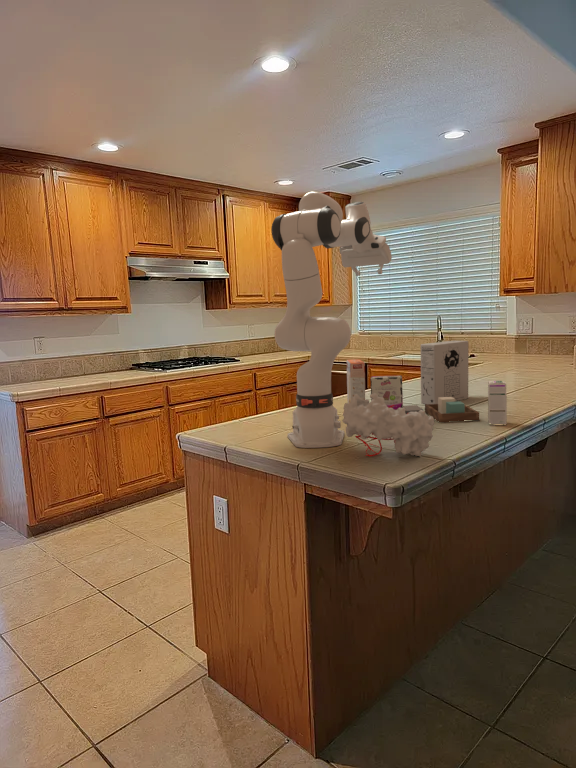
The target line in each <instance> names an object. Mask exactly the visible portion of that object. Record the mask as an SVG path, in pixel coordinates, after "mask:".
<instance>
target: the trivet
mask: <svg viewBox="0 0 576 768" xmlns="http://www.w3.org/2000/svg"><path fill="white" fill-rule="evenodd" d="M403 408H405V413H406V414H407V413H409V412H415V411H416V412H419V411H420V410H423V411H425V409H423V408H422V407H420V406H419V405H417V404H416V405H415V404H413V405H403Z"/></svg>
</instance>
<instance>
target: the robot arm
mask: <svg viewBox="0 0 576 768" xmlns="http://www.w3.org/2000/svg"><path fill="white" fill-rule="evenodd" d="M344 210H345V218H346V219H345V218H344V217H343V216H344V212H343V208H342V207H341V205H340V204H339V202H338V201H336V200H335V199H334V198H332V197H331V196H329V195H328V194H325V193H322V192H319V191H309V192H307V193H306V194H304V195H303V196H302V197H301V199H300V201H299V203H298V211H293V212H289V213H283V214H280V215H278V216H276V217H275V218H274V219H273V222H272V223H271V236H272V240H273V242H274V244H275V245H276V246H277V248H279V250H280V251H281V267H282V268H281V269H282V275H283V280H284V287H285V293H286V300H287V301H286V310H285V313H284V316H283V317H282V318H281V320H280V321H279V322H278V323H277V325H276V326H275V328H274V340H275V343H276V344H277V346H278V347H279V348H280V349H282V350H286V351H292V352H310V358H309V360H308V361H307V362H305V363H304V364H301V366H299V368H298V369H297V372H296V387H297V388H296V390H297V393H296V394H295V400H296V408H295V409H294V410H293V411H292V432H289V433H287V435H286V436H287V438H288V439H289V441H290V442H292V444H293V445H294V446H295V447H296V448H303V449H305V448H306V449H307V448H308V449H310V448H311V449H314V448H315V449H316V448H330V447H336V446H341V445H342V443H343V440H344V437H345V431H344V430H341V429H340V428H341V422H342V421H341V420H339V419H340V415H339V414H338V409H337V408H336V407H335V406H334V396H333V392H332V371H333V369H332V368H333V365H334V362H335V360H336V358H337V356H338V355H339V354H340V353H341V352H342V351H343V350H344V349H345V348H346V347H347V346H348V345H349V343H350V340H351V336H352V332H351V330H352V329H351V327H350V324H349V323H348V322H347V320H345V318H340V317H335V316H311V309H312V308H313V307H315V306H316V305H318V304H319V302H320V301H321V300H322V298H323V289H322V282H321V276H320V270H319V264H318V260H317V257H316V253H315V249H314V247H315V248H316V247H320V246H322V247H323V248H325V249H333V248H339V253H340V258H341V265H342V266H343V268H351V270H352V271H353V272H354V273H355V276H356V277H359V276H361V270H359V269H357V267H367V266H375V265H376V266H377V265H378V267H380V268H378V269H377V271H376V273H377V275H382V274H383V267H384V265H388V264H390V262H391V261H392V259H393V257H392V252H391V249H390V245H389V244H388V243H386V242H387V238H386V236H383V235H379V234H374V233H373V230H372V228H371V218H370V213H369V210H368V207H367V204H366V202H364V201H355V202H350V203H348V204H346V205H345V209H344ZM343 218H344V219H343Z"/></svg>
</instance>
